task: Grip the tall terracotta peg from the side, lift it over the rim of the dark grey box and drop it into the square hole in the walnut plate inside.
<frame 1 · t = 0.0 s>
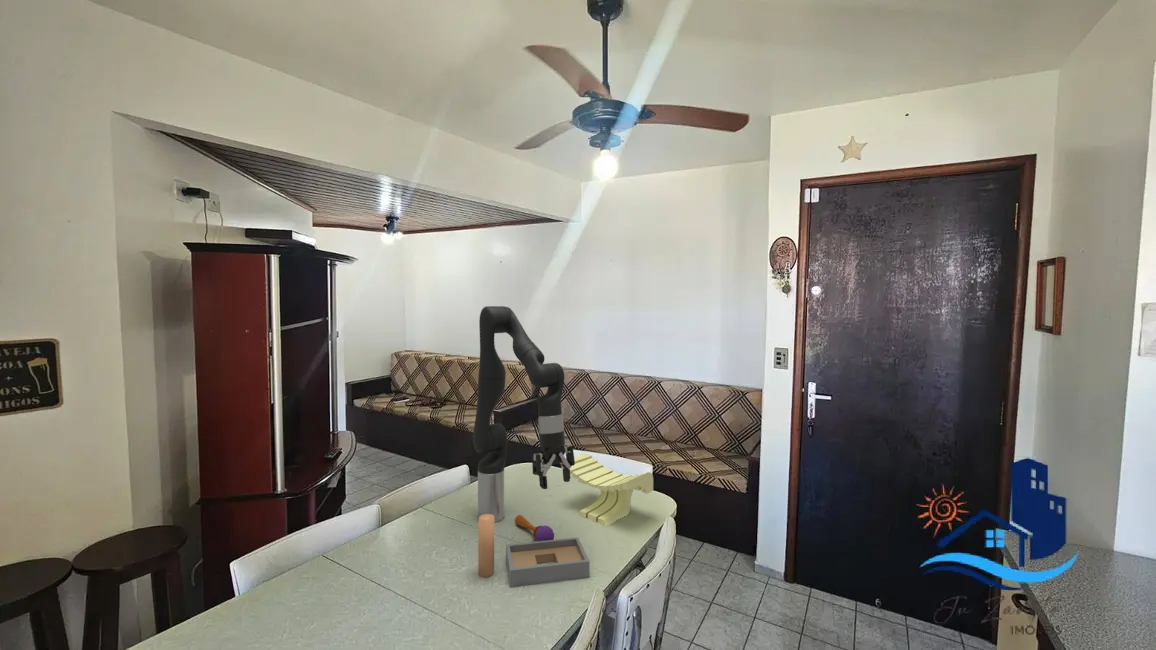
hand: (555, 485, 141), 22 cm above the table, tool pointing down, fingers open, 8 cm apart
peg box: (546, 567, 137), on the table
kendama: (533, 536, 156), on the table
slatted curved stool: (605, 513, 173), on the table
peg: (486, 573, 134), on the table
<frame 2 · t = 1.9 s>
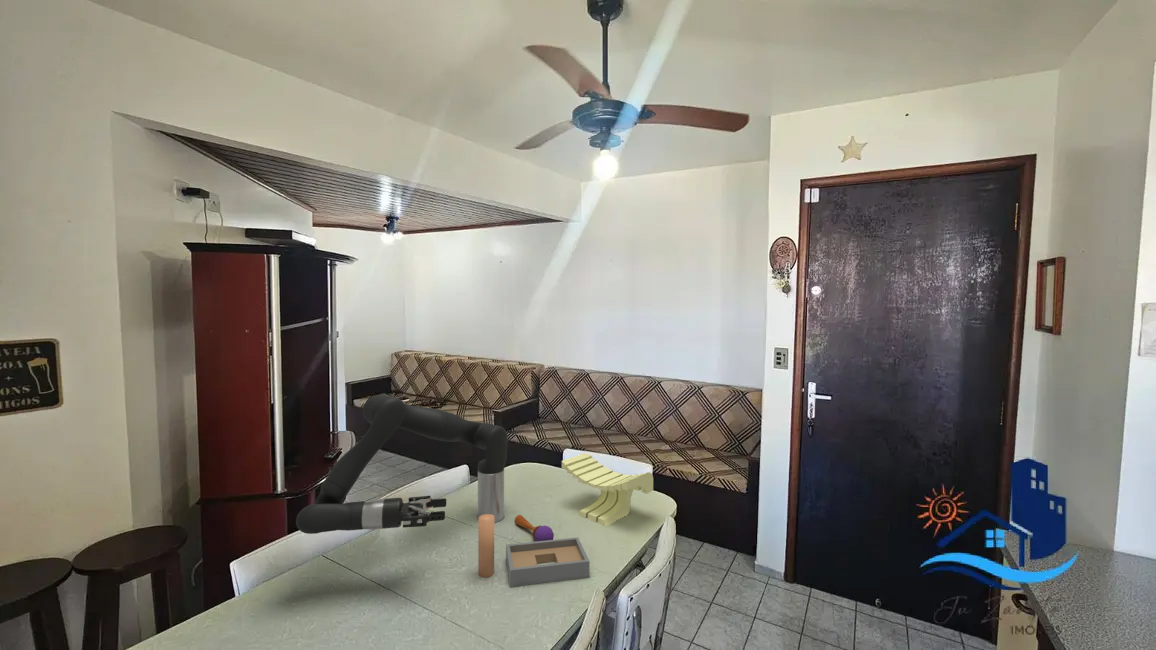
hand: (445, 508, 130), 19 cm above the table, tool horizontal, fingers open, 8 cm apart
nothing on the table moved.
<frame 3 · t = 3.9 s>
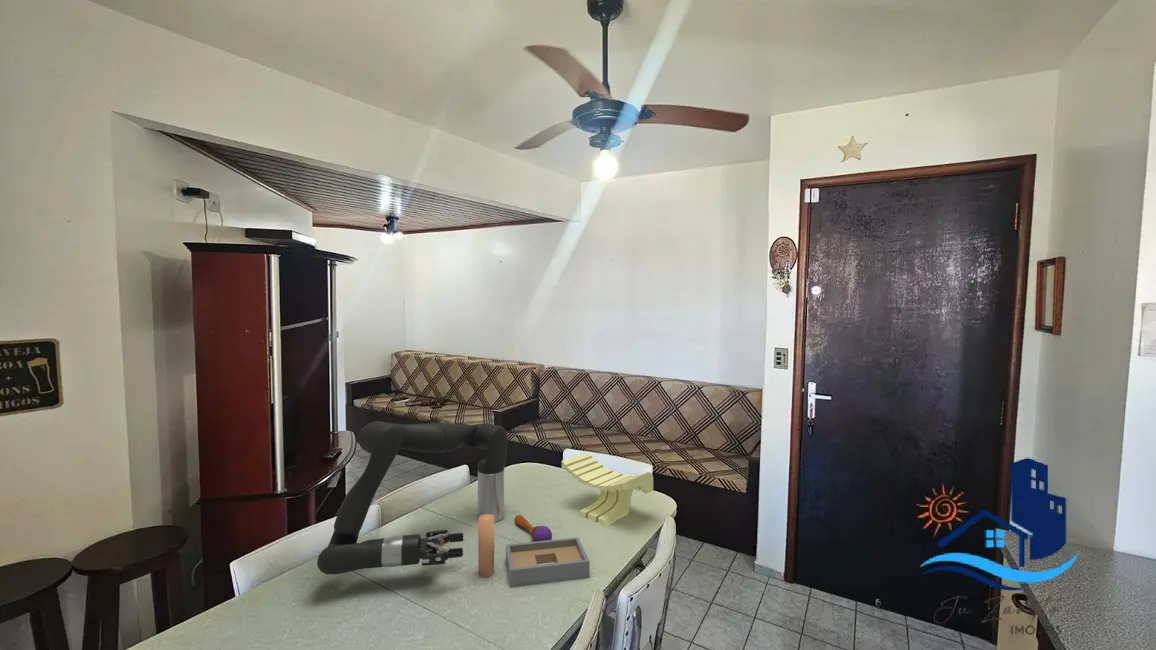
hand: (463, 544, 132), 9 cm above the table, tool horizontal, fingers open, 8 cm apart
nothing on the table moved.
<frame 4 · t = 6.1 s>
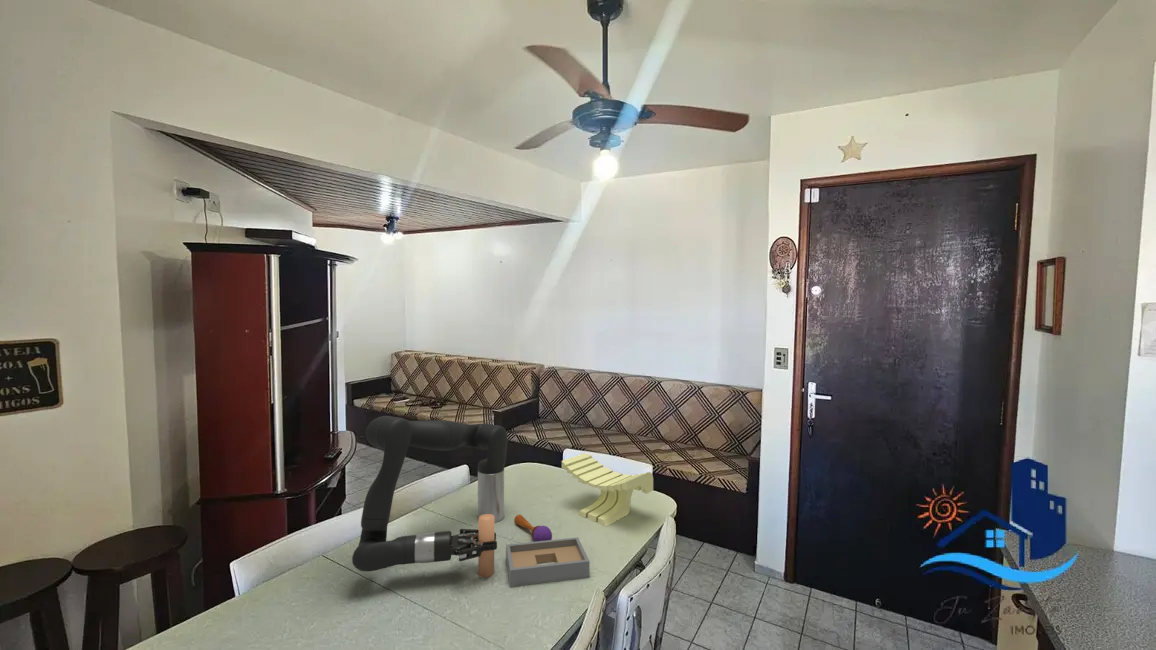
hand: (496, 540, 134), 9 cm above the table, tool horizontal, fingers closed on peg, 4 cm apart
peg: (486, 572, 134), on the table, touching gripper
everything else where it was.
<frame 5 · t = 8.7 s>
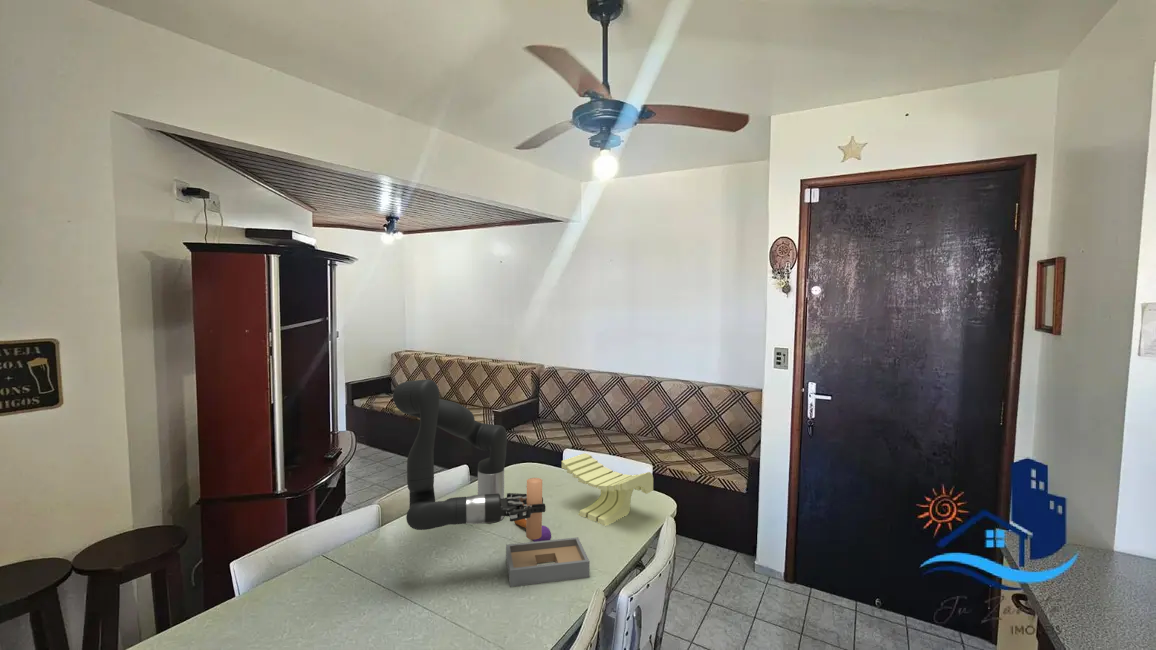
hand: (543, 504, 136), 19 cm above the table, tool horizontal, fingers closed on peg, 4 cm apart
peg: (533, 535, 136), point 10 cm above the table, touching gripper
everything else where it was.
when the fingers open (10 cm above the table, at t = 11.5 s): peg drops 1 cm, resting in peg box.
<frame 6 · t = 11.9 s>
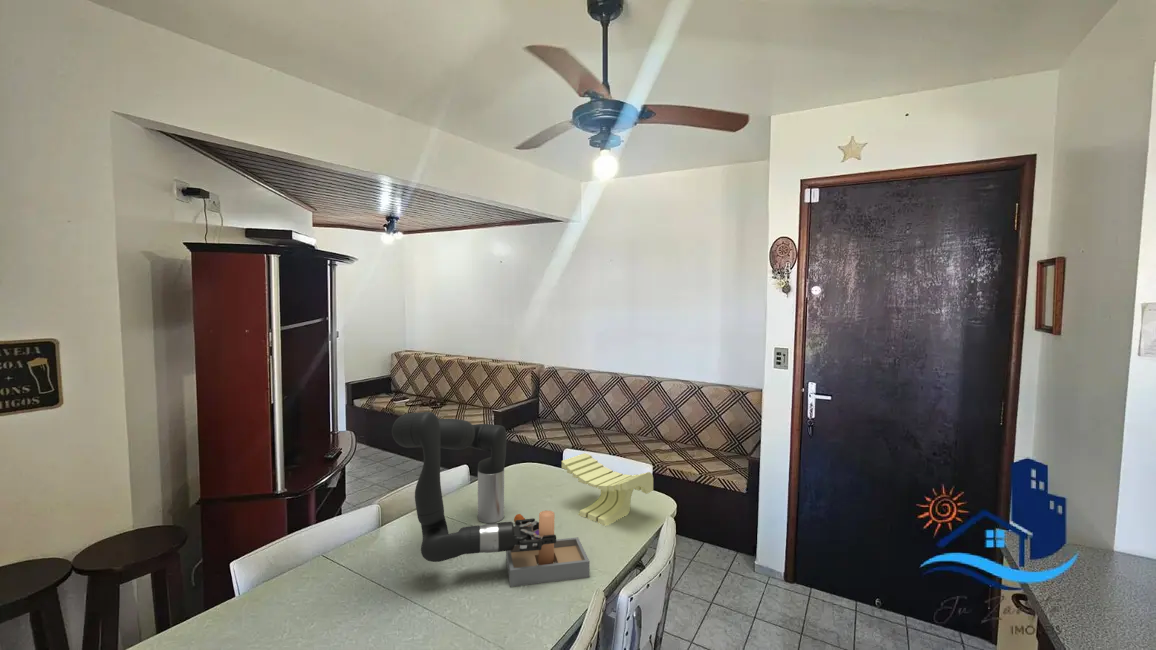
hand: (553, 531, 137), 11 cm above the table, tool horizontal, fingers open, 8 cm apart
peg: (546, 568, 137), resting in peg box
everything else where it was.
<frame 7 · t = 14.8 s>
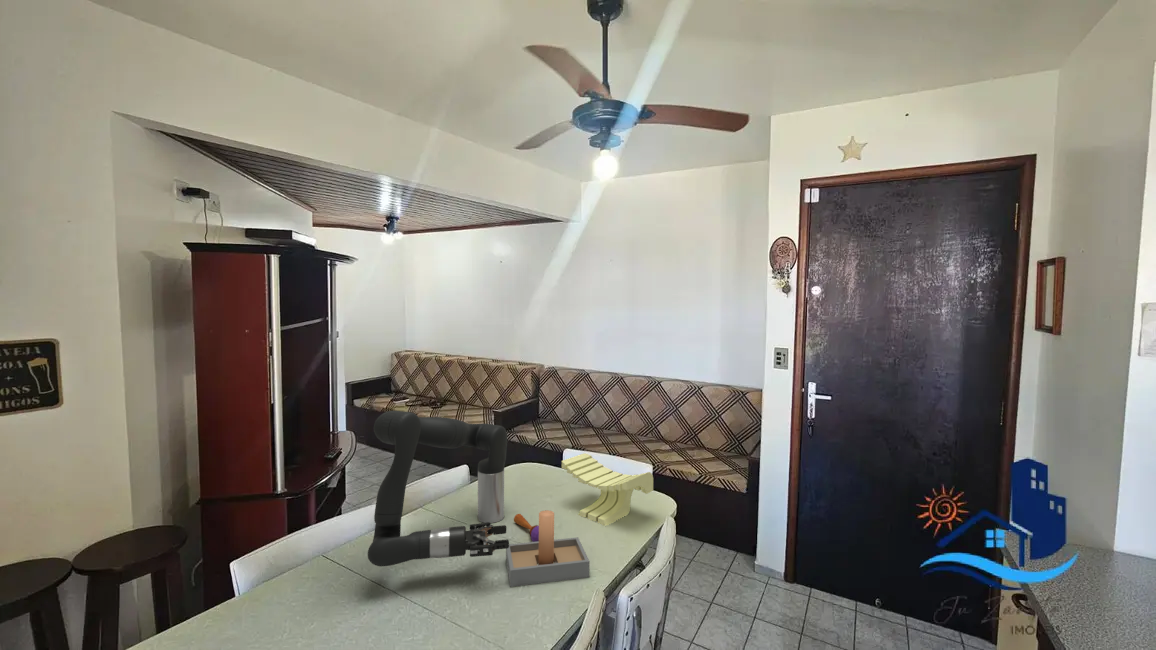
hand: (507, 536, 134), 11 cm above the table, tool horizontal, fingers open, 8 cm apart
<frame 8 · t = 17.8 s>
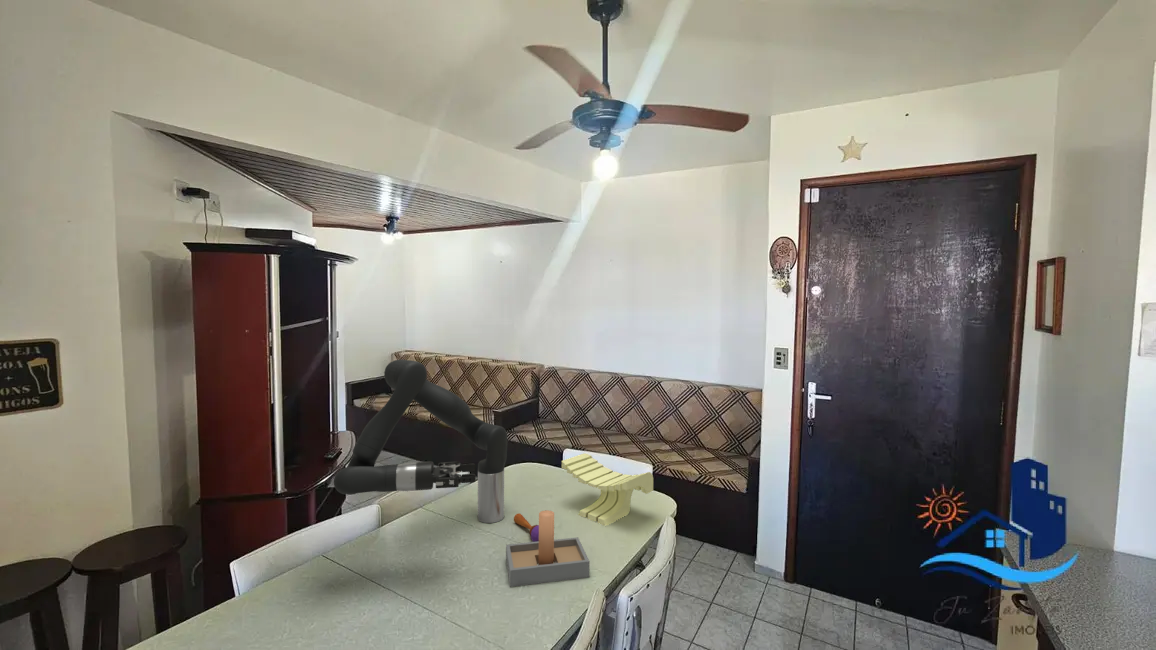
hand: (475, 472, 135), 28 cm above the table, tool horizontal, fingers open, 8 cm apart
at the end: peg 0.1 cm off-centre on the peg box, point 0.0 cm above the peg box's base; peg tilted 0°; the gripper is holding nothing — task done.
